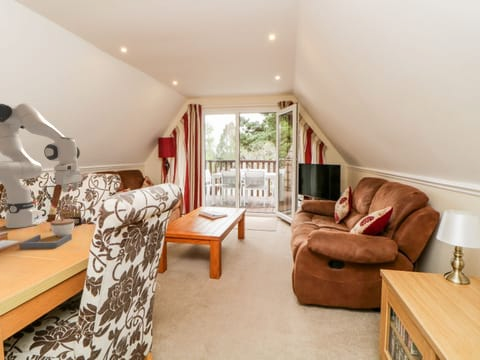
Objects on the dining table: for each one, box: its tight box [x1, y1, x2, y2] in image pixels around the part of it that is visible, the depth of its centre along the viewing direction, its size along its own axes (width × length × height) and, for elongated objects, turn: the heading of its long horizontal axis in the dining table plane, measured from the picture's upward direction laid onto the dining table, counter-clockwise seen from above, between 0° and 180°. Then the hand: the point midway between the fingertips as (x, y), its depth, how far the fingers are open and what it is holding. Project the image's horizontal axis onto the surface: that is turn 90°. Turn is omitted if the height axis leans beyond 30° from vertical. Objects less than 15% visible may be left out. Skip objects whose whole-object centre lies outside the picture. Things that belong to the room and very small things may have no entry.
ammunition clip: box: [60, 205, 83, 227], centre depth 168 cm, size 11×2×12 cm, turn 116°
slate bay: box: [19, 233, 73, 250], centre depth 134 cm, size 14×16×2 cm
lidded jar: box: [50, 217, 75, 238], centre depth 148 cm, size 11×11×9 cm
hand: (70, 191), depth 155 cm, fingers open, 8 cm apart
